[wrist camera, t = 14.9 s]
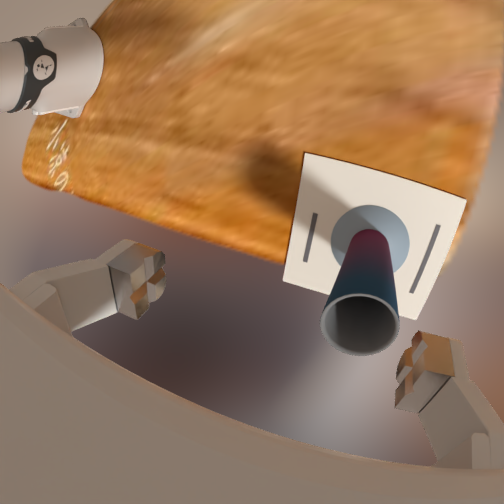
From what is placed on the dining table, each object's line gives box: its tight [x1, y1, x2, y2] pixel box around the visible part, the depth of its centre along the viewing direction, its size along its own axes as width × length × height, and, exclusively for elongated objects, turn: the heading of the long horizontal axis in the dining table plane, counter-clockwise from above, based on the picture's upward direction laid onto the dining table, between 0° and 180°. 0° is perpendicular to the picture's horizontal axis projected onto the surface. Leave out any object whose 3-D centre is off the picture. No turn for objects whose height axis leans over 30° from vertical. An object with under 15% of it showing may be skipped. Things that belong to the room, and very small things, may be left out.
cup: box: [320, 229, 399, 356], centre depth 30 cm, size 7×7×15 cm
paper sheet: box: [283, 153, 467, 320], centre depth 36 cm, size 20×18×1 cm
